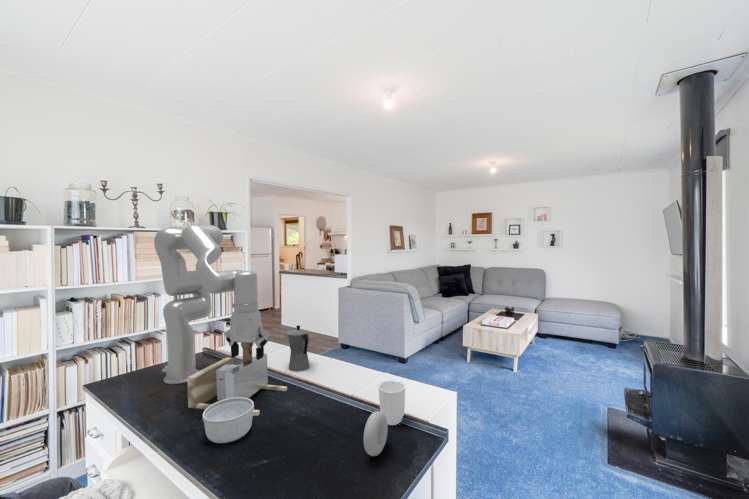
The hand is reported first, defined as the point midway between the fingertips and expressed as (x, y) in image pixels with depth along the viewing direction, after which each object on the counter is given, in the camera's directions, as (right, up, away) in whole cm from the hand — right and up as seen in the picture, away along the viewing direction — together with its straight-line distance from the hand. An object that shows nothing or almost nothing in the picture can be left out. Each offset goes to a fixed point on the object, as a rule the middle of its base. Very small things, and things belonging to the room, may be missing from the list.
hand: (247, 357), depth 111 cm
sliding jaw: (0, -13, 0) cm, 13 cm away
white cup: (+49, -14, -14) cm, 53 cm away
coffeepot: (+12, -14, +27) cm, 33 cm away
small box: (-6, -15, +2) cm, 16 cm away
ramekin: (+2, -15, -19) cm, 24 cm away
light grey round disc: (+44, -14, -29) cm, 55 cm away
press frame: (-2, -14, +1) cm, 15 cm away
